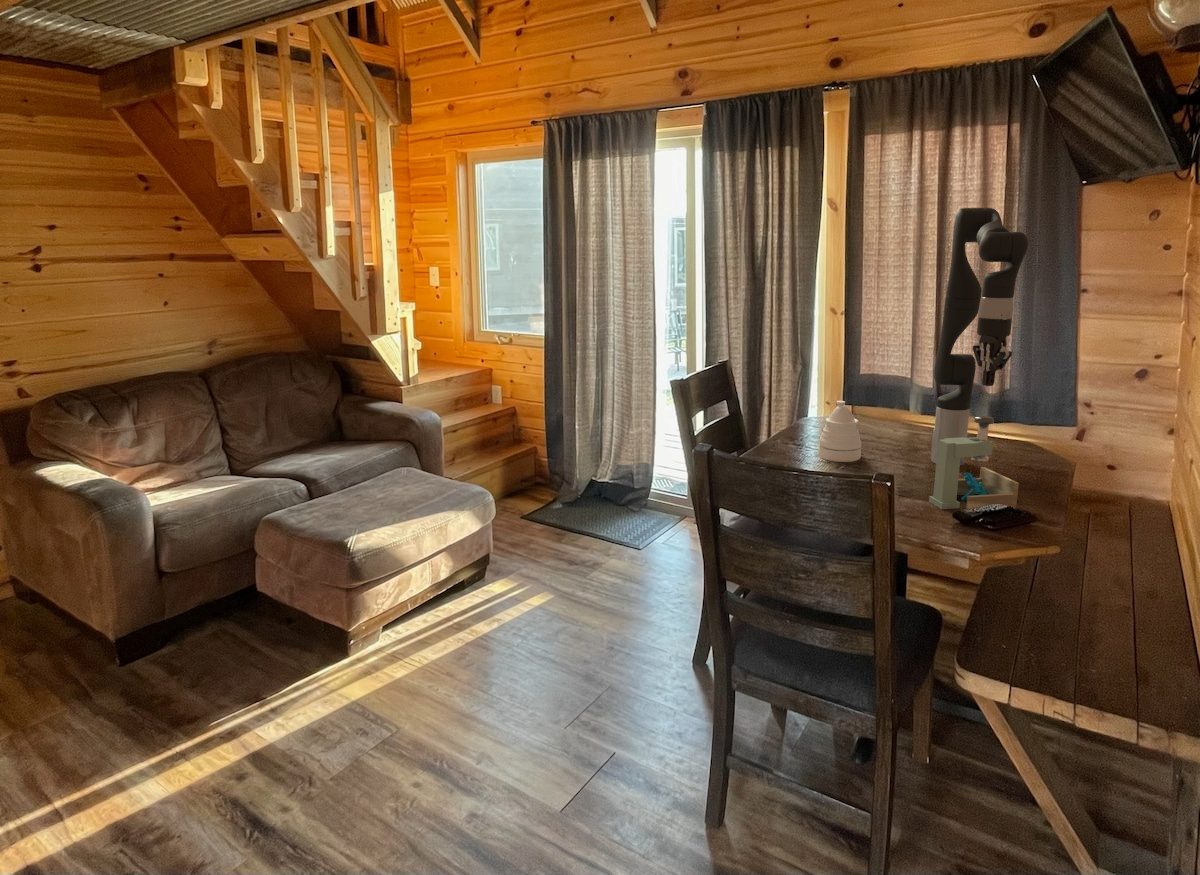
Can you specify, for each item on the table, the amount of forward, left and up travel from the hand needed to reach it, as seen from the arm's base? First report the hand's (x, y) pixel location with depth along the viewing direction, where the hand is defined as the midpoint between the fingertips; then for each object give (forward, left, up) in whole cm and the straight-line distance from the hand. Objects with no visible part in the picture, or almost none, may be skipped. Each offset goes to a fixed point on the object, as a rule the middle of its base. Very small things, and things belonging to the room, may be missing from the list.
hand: (987, 385), depth 201 cm
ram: (0, 0, -19) cm, 19 cm away
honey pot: (-49, -15, -31) cm, 60 cm away
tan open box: (0, -1, -31) cm, 31 cm away
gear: (-1, +1, -31) cm, 31 cm away
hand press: (0, -5, -31) cm, 31 cm away
